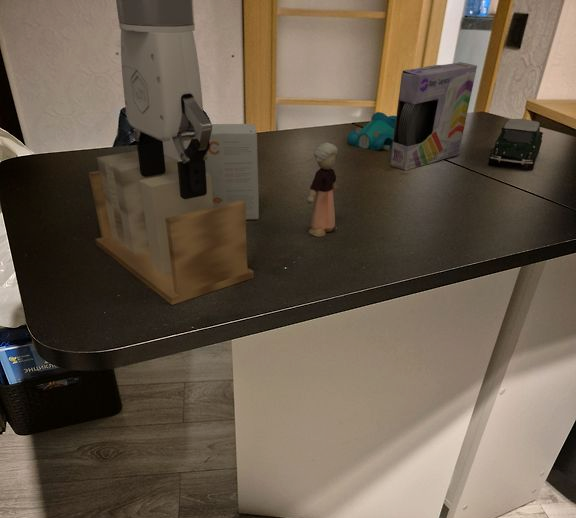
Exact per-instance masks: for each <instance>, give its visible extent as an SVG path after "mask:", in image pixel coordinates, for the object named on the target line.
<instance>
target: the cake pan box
mask: <svg viewBox="0 0 576 518" xmlns="http://www.w3.org/2000/svg"><path fill="white" fill-rule="evenodd" d="M477 69H478V65H476V64H471V63H466V62H463V61H458V62H454V63H453V62H452V63H446V64H433V65H427V66H424V67H417V68H410V69H409V68H408V69H404V70H402V72H401V77H400V85H399V93H398V100H397V109H396V115H395V116H396V123H395V129H394V137H393V144H392V149H391V154H390V161H389V167H393V168H395V169H399V170H402V171H404V172H405V171H410V170H413V169H415V168H419V167H422V166H426V165H430V164H434V163H436V162H439V161H443V160H445V159H448V158H452V157H455V156H458V155H459V153H460V149H461V144H462V141H463V136H464V129H465V125H466V120H467V115H468V111H469V107H470V101H471V98H472V92H473V88H474V83H475V79H476V73H477Z"/></svg>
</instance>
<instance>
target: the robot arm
mask: <svg viewBox="0 0 576 518" xmlns="http://www.w3.org/2000/svg"><path fill="white" fill-rule="evenodd" d="M115 3H116V4H115V5H116V9H117V11H116V12H117V19H118V25H119V26H118V27H119V30H120V61H121V63H120V64H121V76H122V87H123V97H124V107H125V115H126V116H125V117H126V121H127V122H128V124H129V125H130V126H131V128H133V129H134V130H133V137H134V140H135V142H136V151H138V158H139V166H140V173H141V175H142V176H144V177H148V176H154V175H159V174H164V173H165V171H166V169H165V159H164V149H163V141H169V140H170V139H171V137H172V140H173V142H174V144H175V147H176V149H177V152H178V154H179V157H180V159H181V161H180V162H177V165H178V176H179V187H180V196H181V198H183V199H190V198H195V197H199V196H204V195H206V193H207V185H206V168H205V160H207V157H208V156H207V151H208V150H209V147H210V143H209V141H210V136H211V132H212V124H213V123H212V122H211V120H210V119H209V118H208V116H207V115H206V113H205V112H204V106H203V105H204V104H203V92H202V91H203V90H202V82H201V75H200V73H201V72H200V67H199V59H198V53H197V45H196V41H195V35H194V31H196V28H195V27H196V25H195V24H196V23H195V10H194V0H115ZM187 140H191V142H190V143H189V145H188V147H187V148H186V146H185V143H184V141H187Z"/></svg>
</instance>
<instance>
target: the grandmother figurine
mask: <svg viewBox="0 0 576 518" xmlns="http://www.w3.org/2000/svg"><path fill="white" fill-rule="evenodd" d="M337 154H338V148H337V146H336V145H334V144H333V143H329V142H324V143H321V144H320V145H319V146H317V148H315V151H314V152H313V156H314V157H315V160H316V162H317V165H318V167H319V169H317V171H316V172H315V174H314V177H313V180H312V182H311V185H310V187H309V191H308V197H307V198H306V202H307V203H308V204H313V205H312V211H311V220H310V227H311V228H310V229H309V230H308V234H310V235H311V236H314V237H317V238H322V237H324V236H326V233H329V232H332V231H333V230H334V228H335V227H336V214H335V201H334V199H335V198H334V191H335V190H337V188H338V184H337V175H336V172H335V170H334V169H333V168H334V166H335V164H336V156H337ZM333 190H334V191H333Z"/></svg>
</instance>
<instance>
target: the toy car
mask: <svg viewBox="0 0 576 518" xmlns="http://www.w3.org/2000/svg"><path fill="white" fill-rule="evenodd" d="M396 116H397V115H387V114H386V113H385V112H380V111H377V112H374V113H372V116H371V119H370V121H369V122H368V123H367V124H366V125H364V126H363V128H362V127H356V129H354V130H351V131H350V132H349V133H348V135H347V137H346V140H347V143H348V145H350V146H355V147H358V148H359V149H360V148H362V149H365V150H373V151H379V150H383V151H386V152H389V151H390V149H391V150H392V144H393V137H394V129H395V123H396Z"/></svg>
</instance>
